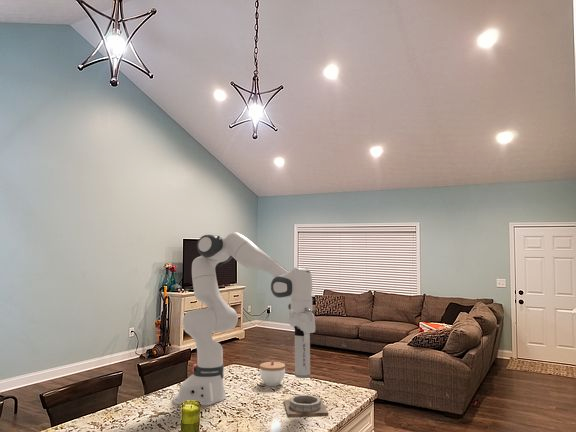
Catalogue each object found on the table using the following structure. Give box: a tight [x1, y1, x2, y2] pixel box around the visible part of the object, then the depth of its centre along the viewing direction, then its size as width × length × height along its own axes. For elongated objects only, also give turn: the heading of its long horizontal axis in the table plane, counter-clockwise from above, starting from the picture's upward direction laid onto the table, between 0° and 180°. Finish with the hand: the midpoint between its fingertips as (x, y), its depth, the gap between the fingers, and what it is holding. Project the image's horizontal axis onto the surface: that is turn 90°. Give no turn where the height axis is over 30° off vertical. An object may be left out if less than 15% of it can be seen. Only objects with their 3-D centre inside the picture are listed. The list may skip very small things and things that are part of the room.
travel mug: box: [293, 326, 311, 379], centre depth 176 cm, size 6×7×20 cm
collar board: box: [283, 394, 329, 418], centre depth 175 cm, size 16×16×4 cm
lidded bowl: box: [259, 360, 286, 387], centre depth 209 cm, size 13×13×11 cm
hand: (302, 340), depth 177 cm, fingers closed on travel mug, 6 cm apart
